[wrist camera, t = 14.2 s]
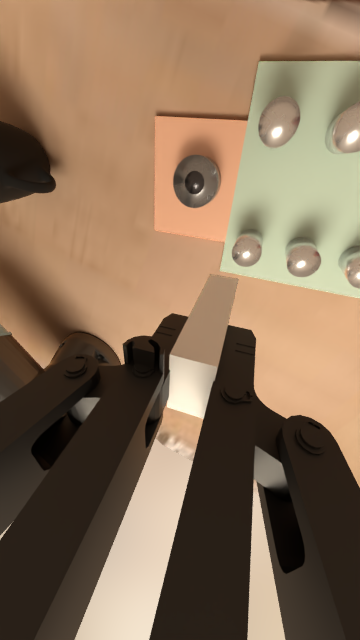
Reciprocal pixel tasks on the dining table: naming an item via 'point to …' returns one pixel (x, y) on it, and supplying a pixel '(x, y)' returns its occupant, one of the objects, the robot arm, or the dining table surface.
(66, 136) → the dining table surface
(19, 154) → the mug
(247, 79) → the dining table surface
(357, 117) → the spacers
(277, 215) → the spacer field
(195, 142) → the tile
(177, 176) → the dark grey disc
